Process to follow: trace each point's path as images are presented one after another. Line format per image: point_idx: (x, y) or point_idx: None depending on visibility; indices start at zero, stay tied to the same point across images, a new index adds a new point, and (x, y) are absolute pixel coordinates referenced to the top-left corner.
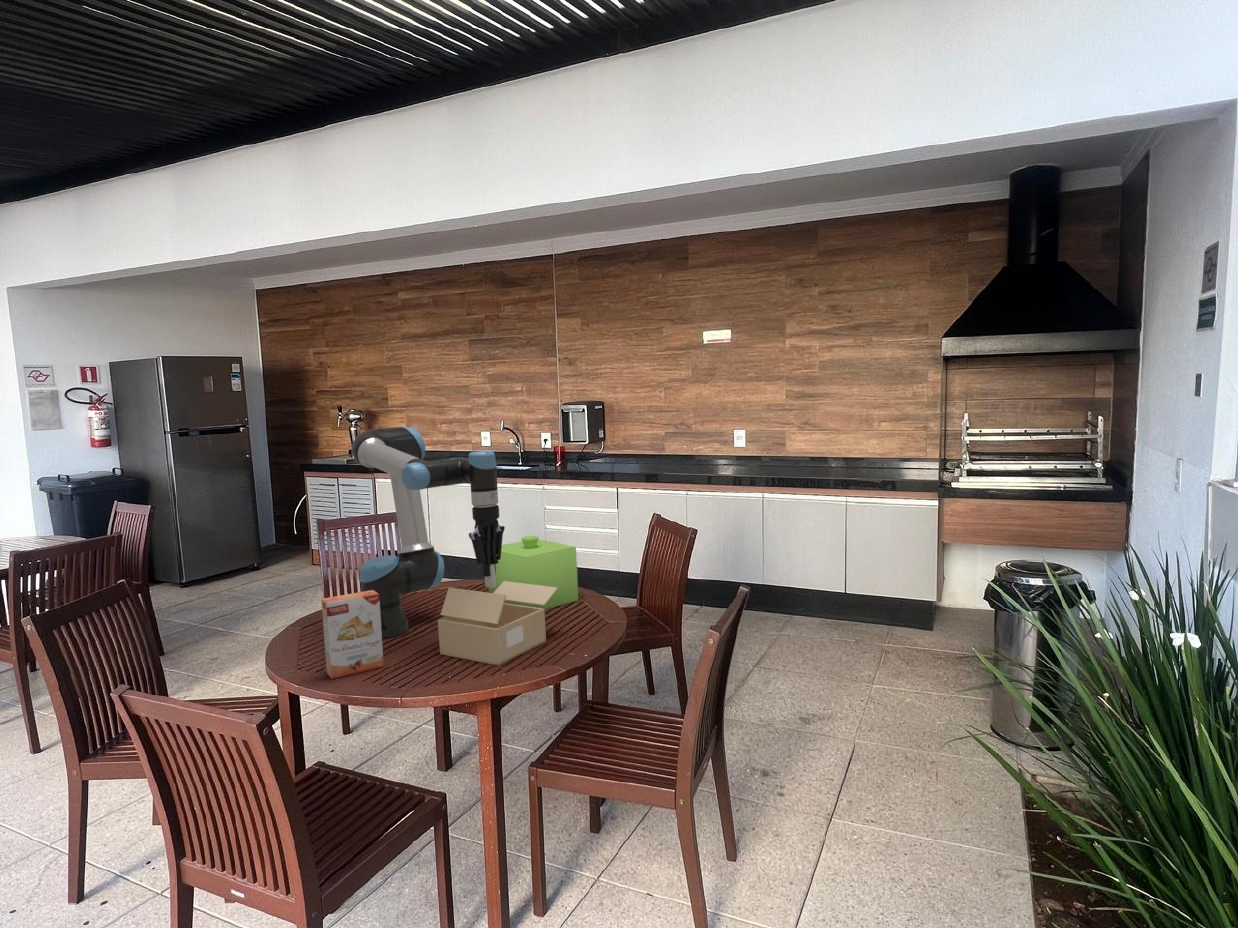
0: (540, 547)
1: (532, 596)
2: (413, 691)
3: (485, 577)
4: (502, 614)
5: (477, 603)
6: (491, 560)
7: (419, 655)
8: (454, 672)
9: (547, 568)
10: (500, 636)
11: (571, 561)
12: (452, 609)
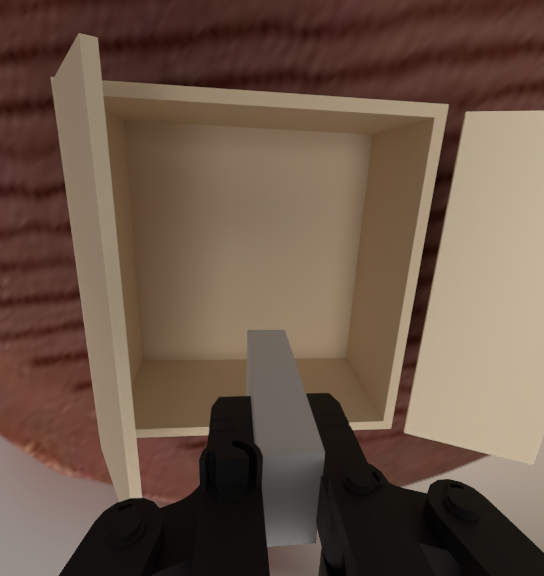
0: None
1: (464, 366)
2: None
3: (250, 372)
4: (393, 214)
5: (101, 359)
6: (332, 549)
7: (60, 35)
8: (24, 285)
9: None
10: None
11: None
12: (69, 170)
